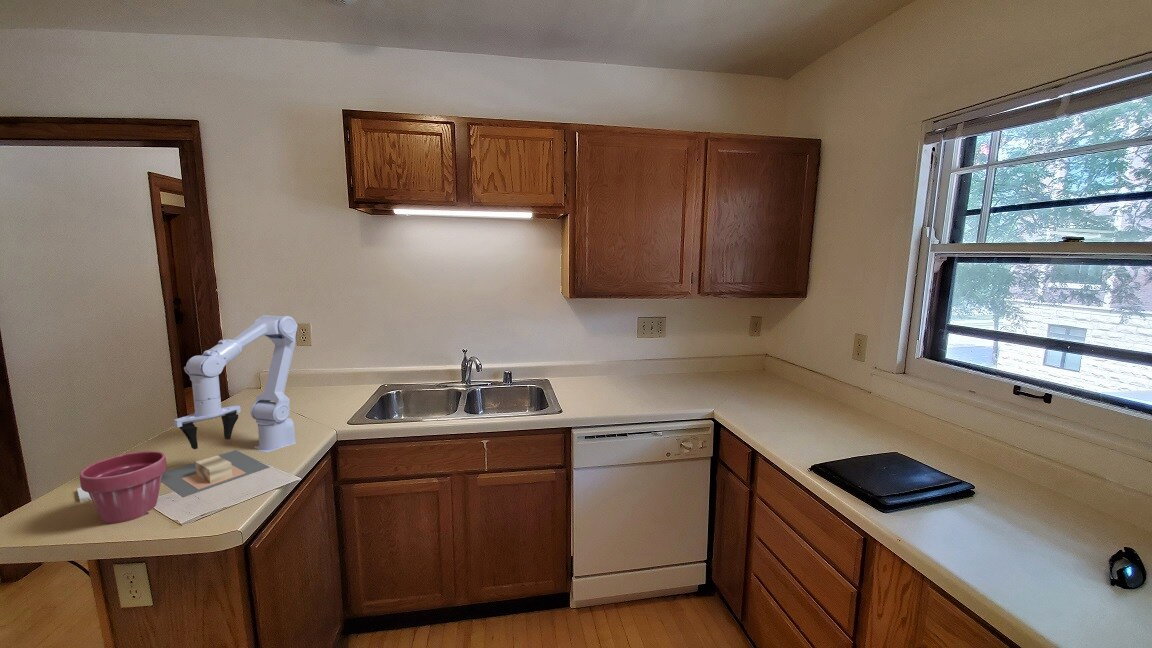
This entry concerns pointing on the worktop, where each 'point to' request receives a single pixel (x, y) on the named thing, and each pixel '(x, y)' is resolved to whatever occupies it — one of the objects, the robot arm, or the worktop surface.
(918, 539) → the worktop surface
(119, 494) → the plant pot
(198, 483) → the mat
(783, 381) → the worktop surface
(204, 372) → the robot arm
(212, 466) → the card box
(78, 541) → the worktop surface
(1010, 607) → the worktop surface
